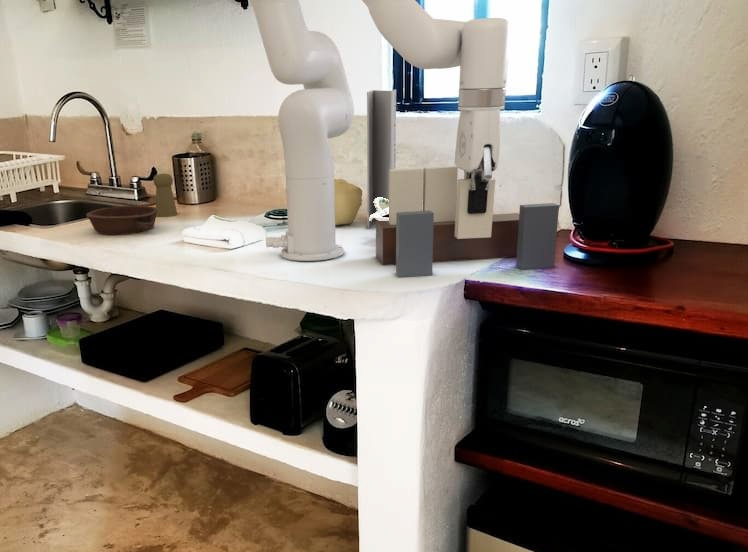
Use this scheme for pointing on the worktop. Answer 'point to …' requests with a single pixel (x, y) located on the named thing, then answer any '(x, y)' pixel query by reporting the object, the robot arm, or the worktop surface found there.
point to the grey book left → (414, 243)
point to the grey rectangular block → (537, 235)
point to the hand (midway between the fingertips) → (474, 211)
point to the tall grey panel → (380, 144)
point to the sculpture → (346, 201)
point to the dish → (123, 219)
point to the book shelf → (456, 241)
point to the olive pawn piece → (164, 195)
